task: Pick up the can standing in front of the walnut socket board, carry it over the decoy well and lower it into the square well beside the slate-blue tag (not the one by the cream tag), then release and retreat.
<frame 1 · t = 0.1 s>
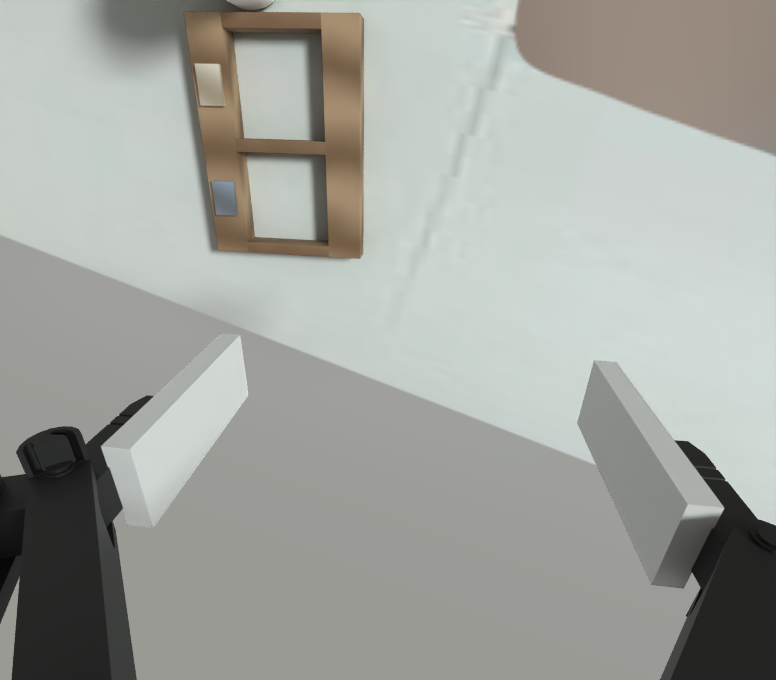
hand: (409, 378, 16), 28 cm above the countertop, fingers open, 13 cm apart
socket board: (287, 145, 40), on the countertop
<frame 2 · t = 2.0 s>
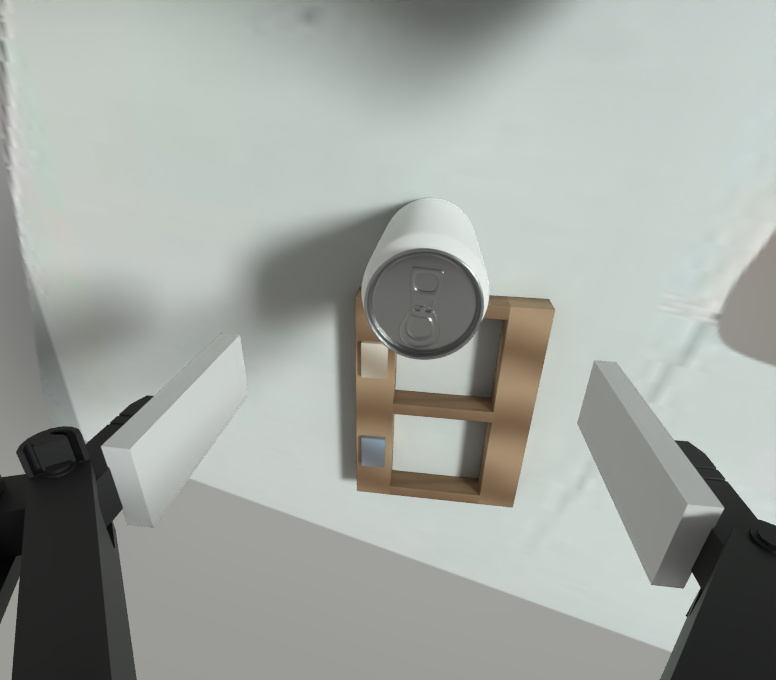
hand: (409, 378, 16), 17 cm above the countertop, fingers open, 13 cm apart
can: (429, 243, 31), on the countertop
socket board: (442, 398, 37), on the countertop
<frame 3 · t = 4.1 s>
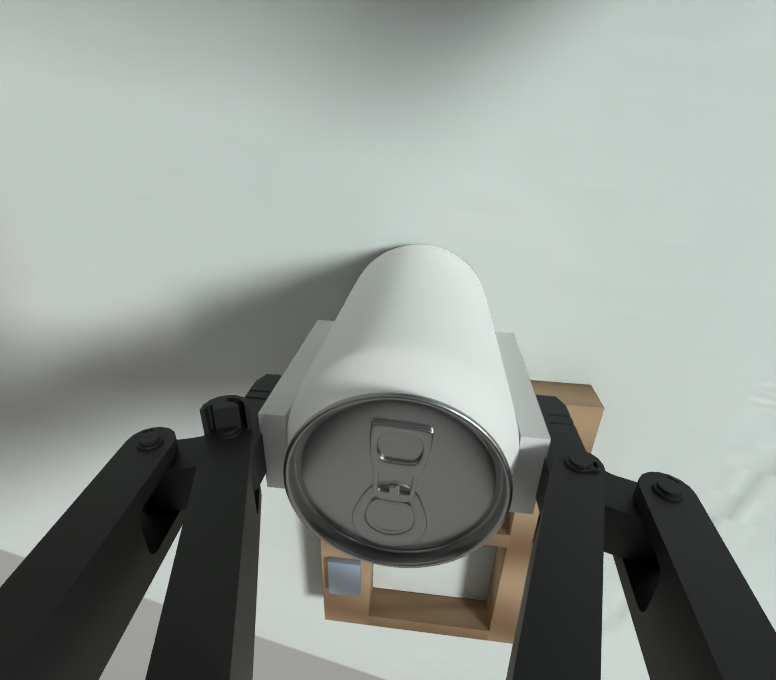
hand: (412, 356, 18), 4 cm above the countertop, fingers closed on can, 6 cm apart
can: (418, 305, 21), on the countertop, touching gripper
socket board: (438, 506, 27), on the countertop
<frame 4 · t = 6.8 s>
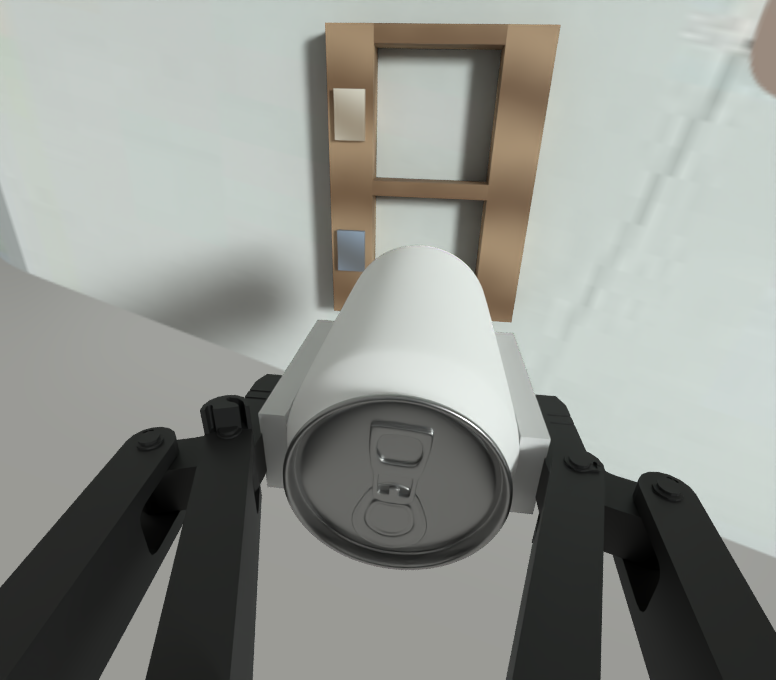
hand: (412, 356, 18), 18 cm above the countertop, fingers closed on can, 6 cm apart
can: (418, 306, 21), point 14 cm above the countertop, touching gripper
socket board: (430, 186, 32), on the countertop
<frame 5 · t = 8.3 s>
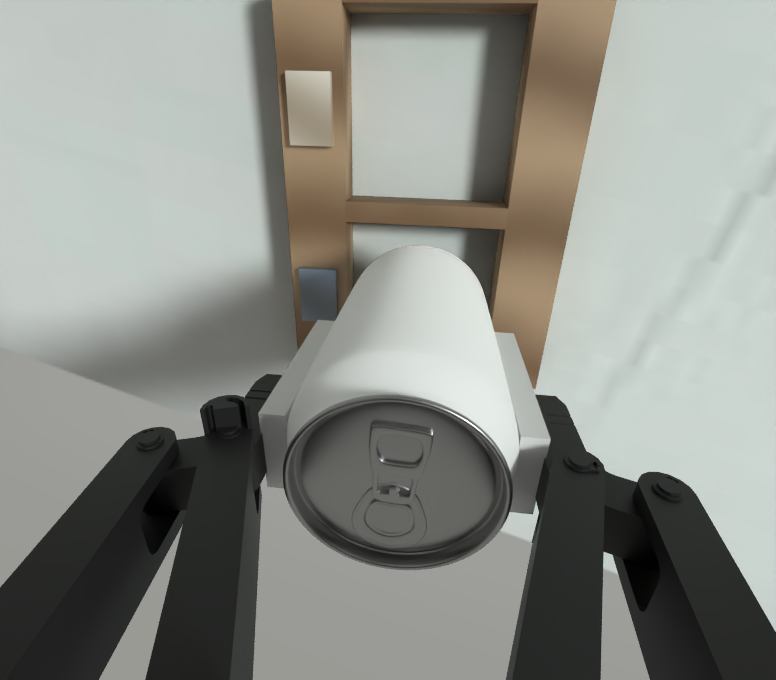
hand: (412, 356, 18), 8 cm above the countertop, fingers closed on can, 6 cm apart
can: (418, 306, 21), point 4 cm above the countertop, touching gripper
socket board: (426, 208, 23), on the countertop
when the fingers open (7 cm above the countertop, at t = 9.4 s): can drops 3 cm, resting in socket board.
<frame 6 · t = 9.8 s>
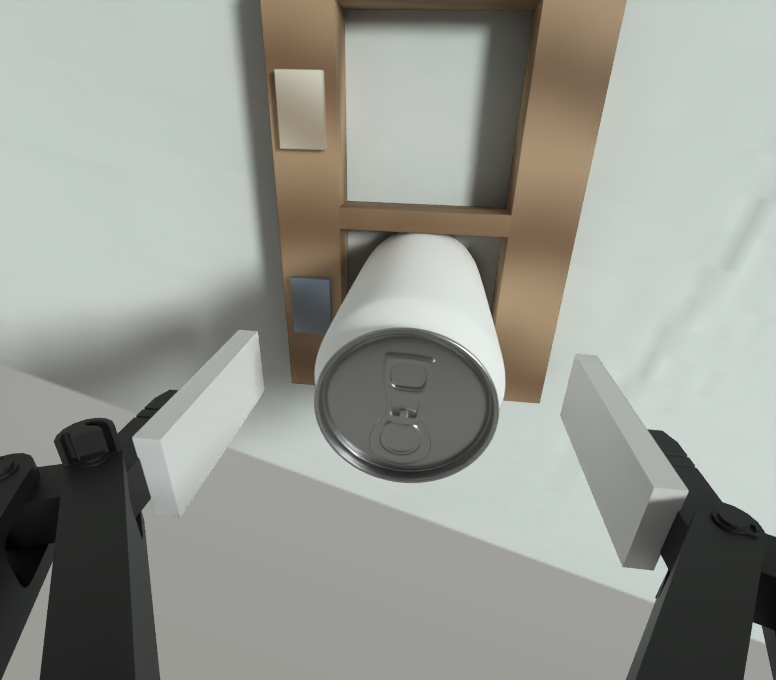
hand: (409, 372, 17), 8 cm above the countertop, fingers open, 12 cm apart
can: (420, 284, 24), resting in socket board
socket board: (424, 214, 22), on the countertop
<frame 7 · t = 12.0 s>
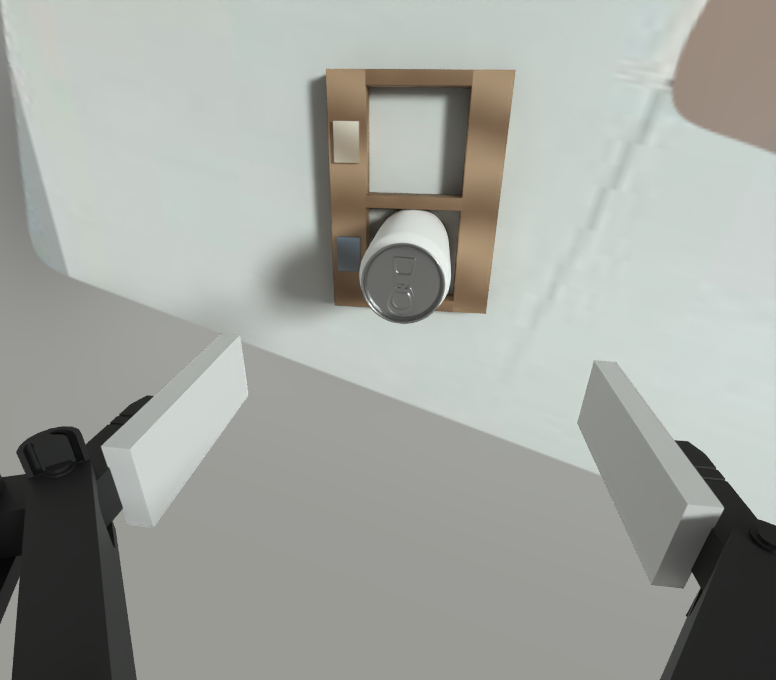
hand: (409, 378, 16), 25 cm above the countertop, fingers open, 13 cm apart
can: (412, 242, 40), resting in socket board
socket board: (414, 199, 38), on the countertop
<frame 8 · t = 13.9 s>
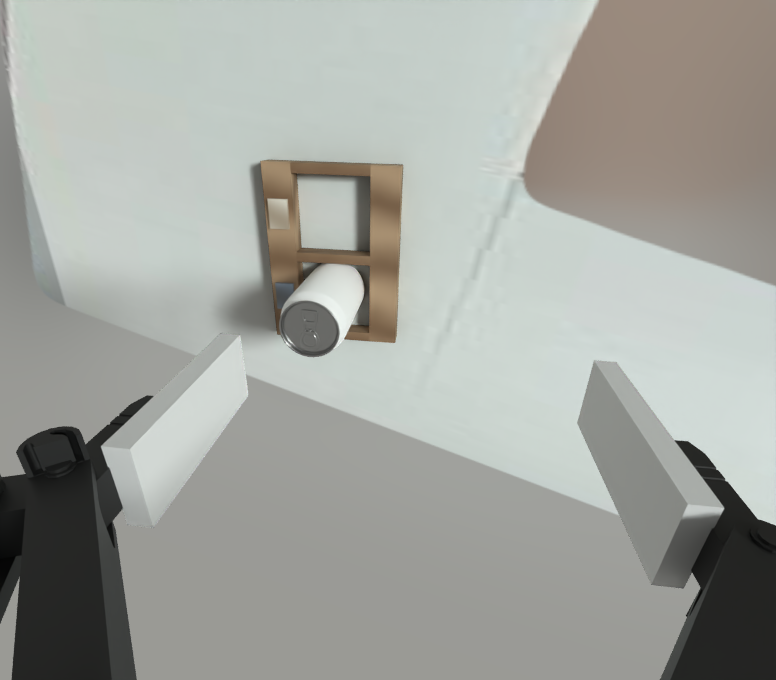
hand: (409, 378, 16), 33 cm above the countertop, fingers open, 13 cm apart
can: (338, 286, 50), resting in socket board
socket board: (336, 254, 49), on the countertop
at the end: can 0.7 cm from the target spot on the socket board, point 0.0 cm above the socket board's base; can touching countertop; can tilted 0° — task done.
